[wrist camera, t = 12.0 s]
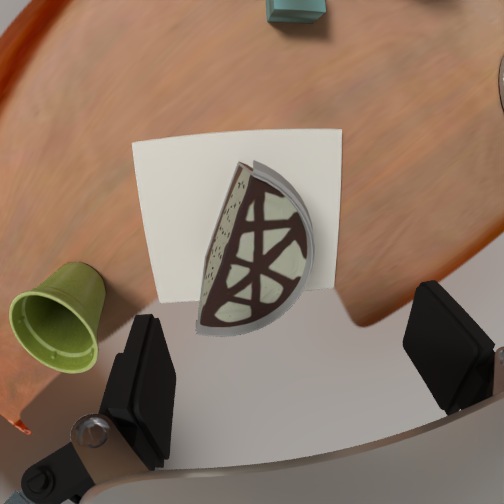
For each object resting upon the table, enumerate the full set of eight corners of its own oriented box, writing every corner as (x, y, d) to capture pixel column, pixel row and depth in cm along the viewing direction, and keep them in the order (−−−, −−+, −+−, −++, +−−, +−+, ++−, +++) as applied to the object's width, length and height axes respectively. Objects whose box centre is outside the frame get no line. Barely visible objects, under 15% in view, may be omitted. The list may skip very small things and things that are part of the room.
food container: (260, 286, 32) (276, 357, 23) (200, 269, 30) (194, 339, 21) (310, 169, 27) (354, 203, 18) (244, 144, 26) (257, 165, 17)
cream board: (337, 128, 26) (341, 129, 26) (330, 282, 33) (333, 287, 33) (134, 141, 25) (131, 143, 24) (161, 297, 32) (159, 303, 31)
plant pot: (97, 333, 34) (76, 386, 26) (35, 287, 30) (0, 333, 23) (136, 284, 31) (115, 338, 24) (65, 229, 28) (24, 271, 20)
